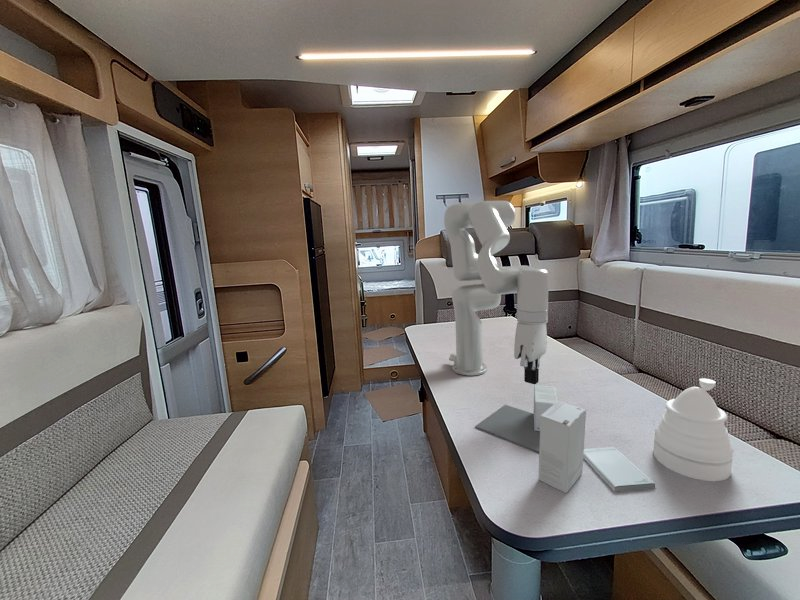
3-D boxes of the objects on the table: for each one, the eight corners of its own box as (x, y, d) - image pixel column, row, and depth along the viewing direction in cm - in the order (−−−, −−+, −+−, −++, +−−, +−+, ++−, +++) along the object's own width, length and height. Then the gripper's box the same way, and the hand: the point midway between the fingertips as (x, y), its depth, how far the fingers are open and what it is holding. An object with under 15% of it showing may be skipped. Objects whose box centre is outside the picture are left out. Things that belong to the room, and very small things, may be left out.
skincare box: (555, 462, 78) (557, 398, 76) (584, 474, 74) (587, 407, 71) (537, 481, 73) (538, 413, 70) (567, 496, 68) (569, 424, 66)
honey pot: (694, 441, 83) (702, 368, 80) (749, 479, 70) (760, 393, 67) (639, 445, 83) (645, 371, 80) (684, 483, 70) (692, 397, 67)
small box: (554, 413, 98) (558, 434, 88) (533, 411, 100) (534, 431, 90) (556, 386, 96) (559, 404, 87) (533, 384, 98) (535, 402, 88)
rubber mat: (475, 427, 94) (475, 426, 94) (505, 405, 105) (505, 404, 104) (551, 458, 80) (552, 456, 80) (577, 429, 90) (577, 427, 90)
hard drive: (655, 483, 69) (614, 445, 81) (614, 486, 69) (579, 448, 81) (655, 490, 69) (614, 452, 82) (614, 494, 69) (578, 455, 81)
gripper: (531, 309, 101) (530, 370, 105) (504, 319, 91) (504, 387, 94) (558, 312, 96) (556, 377, 99) (533, 324, 86) (532, 395, 89)
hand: (531, 382), depth 97 cm, fingers closed
